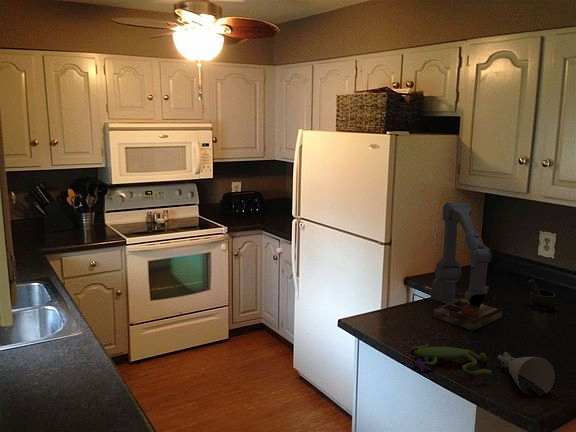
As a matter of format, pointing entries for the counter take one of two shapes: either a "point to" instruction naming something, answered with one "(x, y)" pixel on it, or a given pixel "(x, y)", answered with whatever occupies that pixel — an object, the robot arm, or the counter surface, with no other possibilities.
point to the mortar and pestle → (540, 297)
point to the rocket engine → (530, 370)
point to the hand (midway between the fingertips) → (474, 311)
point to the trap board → (454, 316)
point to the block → (470, 311)
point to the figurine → (446, 353)
